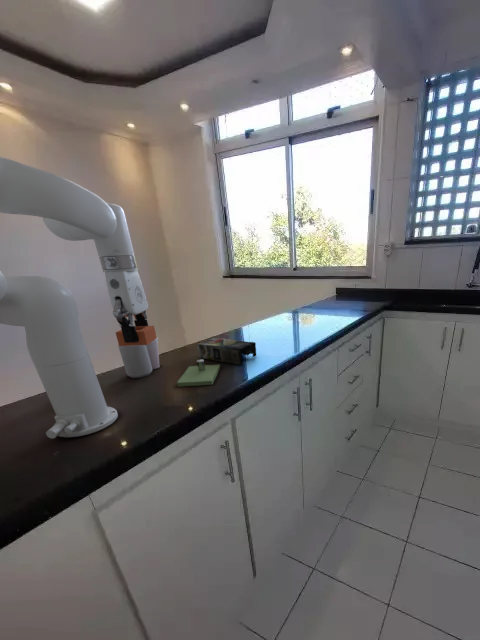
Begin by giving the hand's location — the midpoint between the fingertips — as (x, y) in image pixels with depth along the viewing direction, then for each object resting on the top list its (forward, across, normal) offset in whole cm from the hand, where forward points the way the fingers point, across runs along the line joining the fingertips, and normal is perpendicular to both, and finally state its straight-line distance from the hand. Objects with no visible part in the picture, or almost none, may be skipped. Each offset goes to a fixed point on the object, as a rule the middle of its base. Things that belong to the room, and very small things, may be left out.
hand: (138, 337), depth 81 cm
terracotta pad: (+1, 0, 0) cm, 1 cm away
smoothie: (+15, +19, +6) cm, 25 cm away
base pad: (+15, +8, -12) cm, 21 cm away
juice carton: (+15, +25, -18) cm, 34 cm away
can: (+15, +13, +8) cm, 21 cm away
